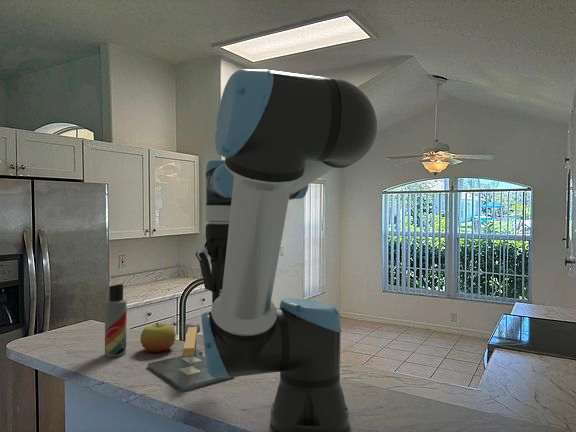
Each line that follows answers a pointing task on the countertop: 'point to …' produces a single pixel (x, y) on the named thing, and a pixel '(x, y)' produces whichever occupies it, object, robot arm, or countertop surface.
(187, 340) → the cable arm
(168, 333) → the apple
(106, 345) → the lotion bottle
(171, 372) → the plate
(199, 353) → the post
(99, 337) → the countertop surface
